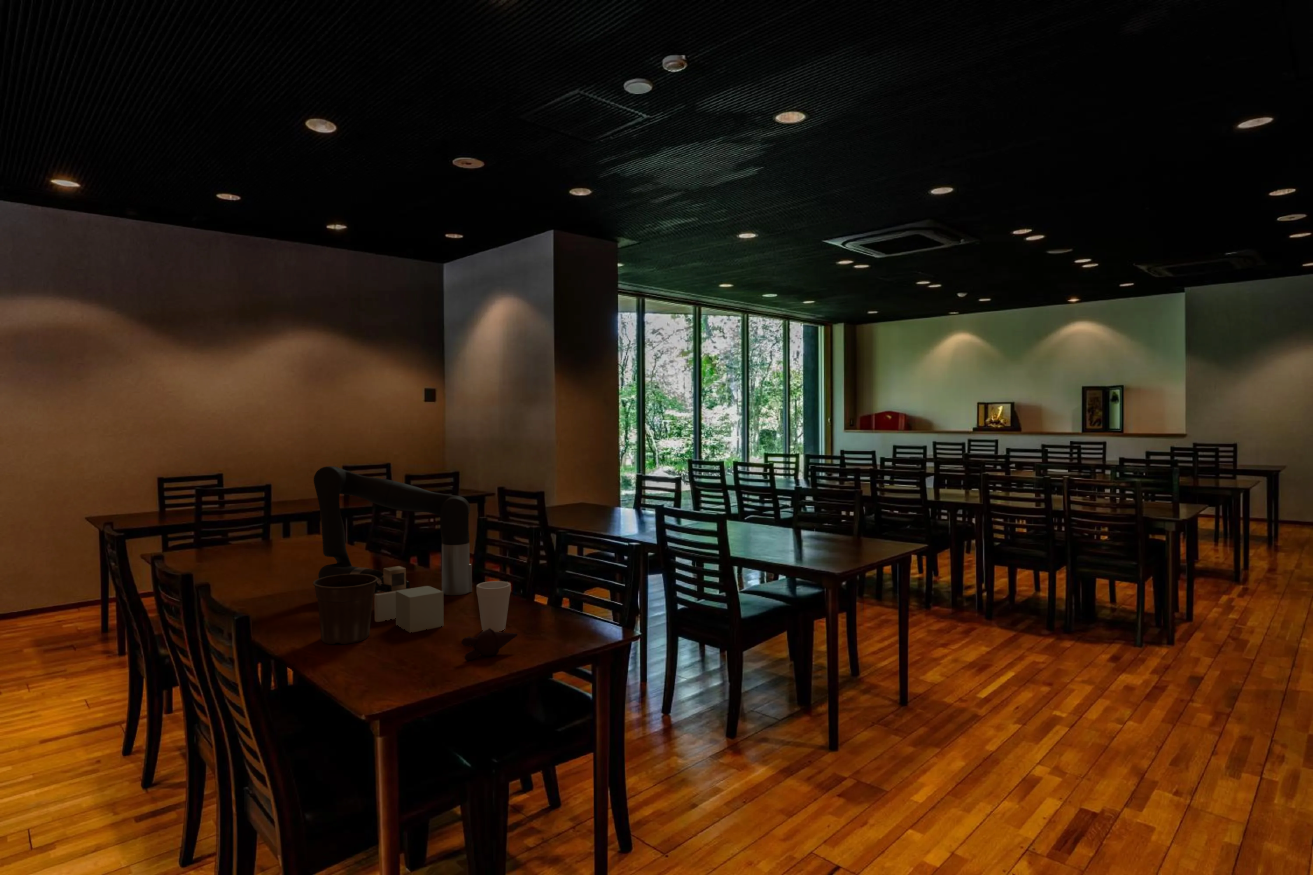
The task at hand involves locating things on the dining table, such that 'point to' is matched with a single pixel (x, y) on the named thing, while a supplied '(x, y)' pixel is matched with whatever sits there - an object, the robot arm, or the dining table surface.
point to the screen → (385, 606)
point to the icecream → (487, 643)
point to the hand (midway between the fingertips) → (399, 586)
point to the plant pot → (345, 607)
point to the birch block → (395, 577)
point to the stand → (419, 608)
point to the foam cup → (493, 604)
